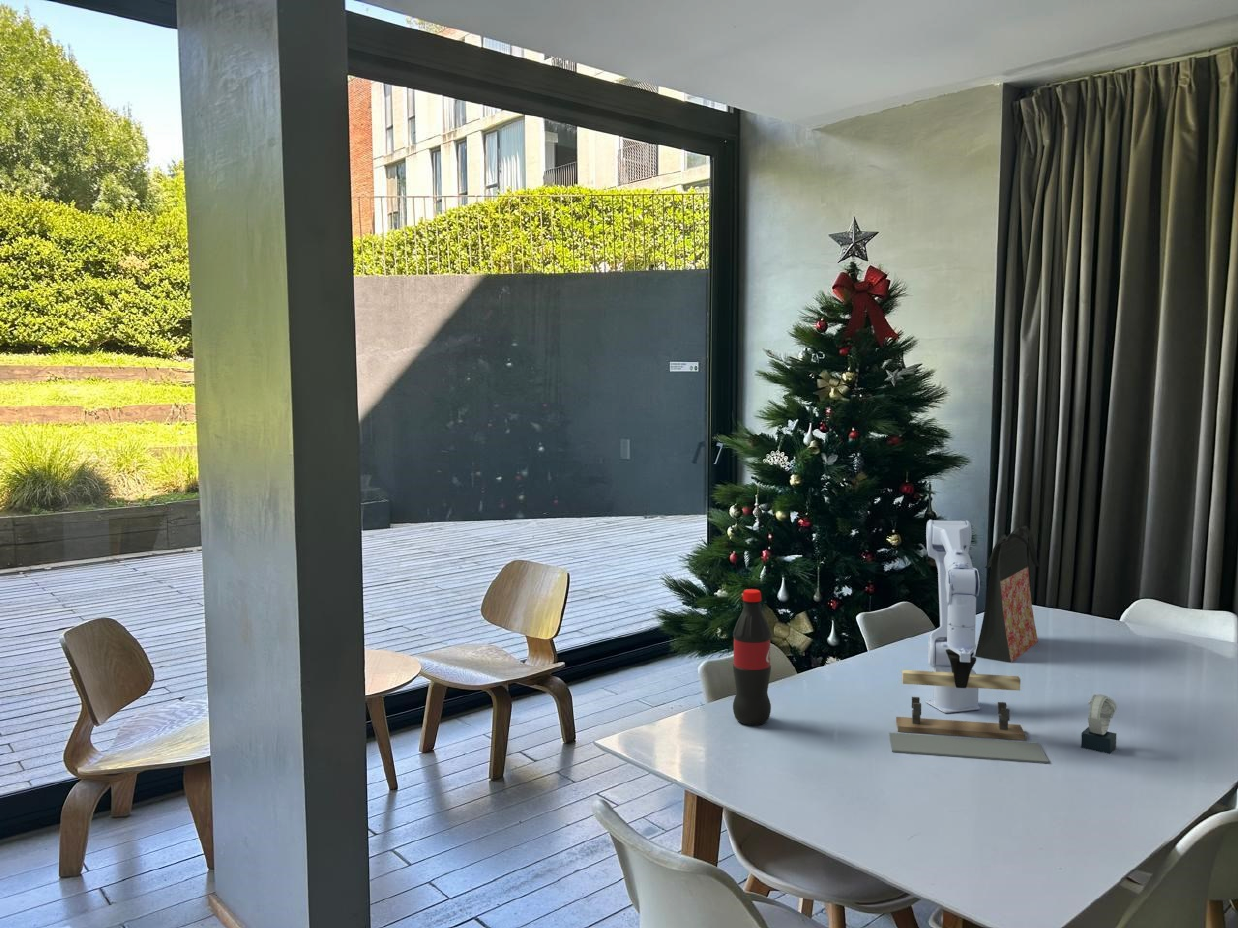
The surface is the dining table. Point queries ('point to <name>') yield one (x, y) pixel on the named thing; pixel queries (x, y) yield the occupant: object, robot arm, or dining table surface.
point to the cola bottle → (752, 662)
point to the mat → (967, 747)
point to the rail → (948, 680)
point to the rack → (961, 725)
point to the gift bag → (1008, 600)
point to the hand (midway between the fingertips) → (960, 685)
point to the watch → (1100, 725)
